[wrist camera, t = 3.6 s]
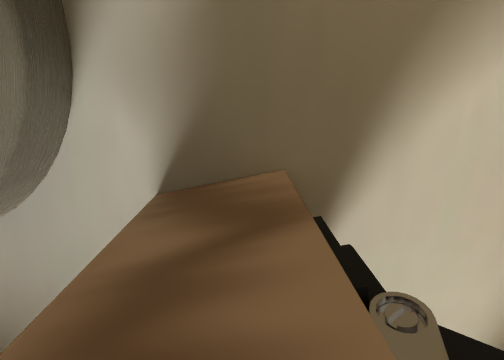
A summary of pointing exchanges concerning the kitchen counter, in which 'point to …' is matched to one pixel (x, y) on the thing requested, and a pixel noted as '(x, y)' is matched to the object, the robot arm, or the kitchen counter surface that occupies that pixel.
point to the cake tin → (31, 94)
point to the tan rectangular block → (210, 286)
